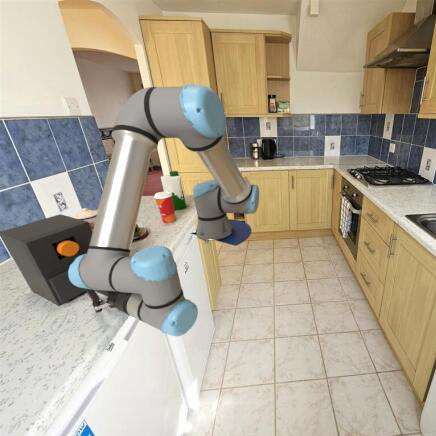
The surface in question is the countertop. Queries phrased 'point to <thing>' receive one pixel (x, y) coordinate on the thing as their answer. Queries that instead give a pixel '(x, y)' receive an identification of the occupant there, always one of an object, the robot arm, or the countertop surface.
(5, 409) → the countertop surface
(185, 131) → the robot arm
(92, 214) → the teacup with lid
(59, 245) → the button
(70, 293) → the pull-out fryer drawer
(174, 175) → the milk carton
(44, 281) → the fryer base
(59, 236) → the panel
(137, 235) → the burger
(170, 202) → the paper cup
